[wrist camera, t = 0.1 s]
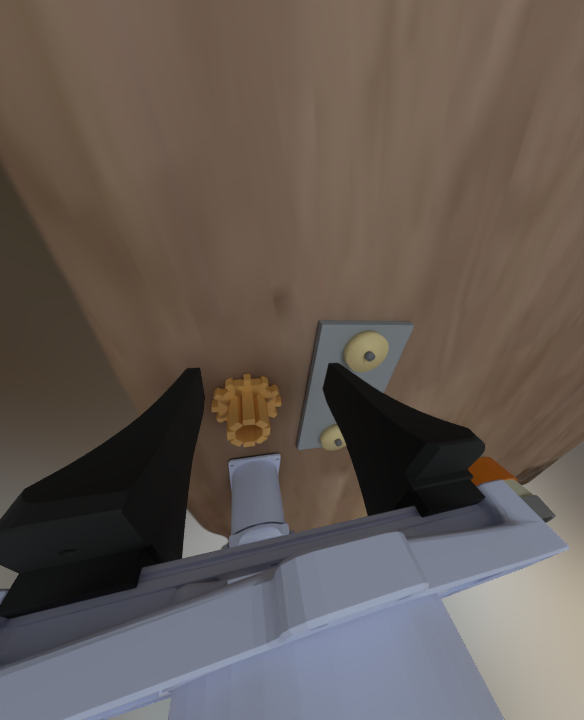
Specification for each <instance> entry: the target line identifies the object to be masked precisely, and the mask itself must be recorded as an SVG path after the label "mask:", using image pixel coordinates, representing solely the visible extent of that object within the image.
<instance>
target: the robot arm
mask: <svg viewBox="0 0 584 720" xmlns="http://www.w3.org/2000/svg"><path fill="white" fill-rule="evenodd" d="M322 389H323V393H324V396H325V399H326V402H327V405H328V407H329V409H330V411H331V413H332V415H333V417H334V419H335V421H336V423H337V425H338V427H339V430H340V432H341V434H342V436H343V438H344V440H345V443H346V446H347V449H348V451H349V454H350V457H351V460H352V463H353V466H354V469H355V472H356V475H357V478H358V482H359V485H360V488H361V492H362V495H363V499H364V503H365V507H366V511H367V514H368V516H367V517H363V518H358V519H354V520H350V521H345V522H341V523H336V524H332V525H328V526H323V527H319V528H314V529H310V530H306V531H301V532H297V533H295V532H294V531H293V530H291V531H289V526H288V523H286V524H285V518H284V512H283V505H282V499H281V492H280V486H279V479H278V474H279V466H280V458H281V456H280V454H271V455H263V456H256V457H249V458H241V459H234V460H230V461H229V462H228V466H229V474H230V483H231V492H232V518H231V536H229V545H225V546H224V547H223V549H222V550H218V551H213V552H209V553H205V554H200V555H196V556H191V557H187V558H183V559H182V551H183V540H184V528H185V519H186V509H187V499H188V491H189V482H190V475H191V467H192V460H193V455H194V450H195V446H196V442H197V438H198V434H199V429H200V425H201V421H202V417H203V410H204V400H205V395H204V389H203V383H202V377H201V371H200V368H187V369H186V370H185V371H184V372H183V373H182V375H181V376H180V377H179V378H178V379H177V380H176V381H175V382H174V384H173V385H172V386H171V387H170V388H169V389H168V390H167V391H166V392H165V393H164V394H163V395H162V396H161V397H160V398H159V399H158V400H157V401H156V402H155V403H154V404H153V405H152V406H151V407H150V408H149V409H148V410H146V411H145V412H144V413H143V414H142V415H141V416H140V417H138V418H137V419H136V420H135V421H133V422H132V423H131V424H130V425H128V426H127V427H126V428H124V429H123V430H121V431H120V432H119V433H117V434H116V435H114V436H113V437H112V438H110V439H109V440H107V441H106V442H104V443H103V444H102V445H100V446H98V447H97V448H95V449H94V450H92V451H91V452H89V453H87V454H86V455H84V456H82V457H81V458H79V459H77V460H76V461H74V462H72V463H71V464H69V465H67V466H66V467H64V468H62V469H60V470H58V471H57V472H55V473H53V474H51V475H49V476H47V477H46V478H44V479H42V480H40V481H38V482H37V483H35V484H33V485H31V486H29V487H27V488H25V489H24V490H23V492H22V493H21V494H20V495H19V496H18V497H17V499H16V500H15V501H14V503H13V504H12V505H11V506H10V508H9V509H8V510H7V512H6V513H5V514H4V515H3V517H2V518H1V519H0V565H1V566H4V567H6V568H8V569H10V570H13V571H15V572H17V573H19V575H18V576H17V578H16V580H15V581H14V583H13V584H12V586H11V588H10V589H0V720H107V719H109V718H112V717H115V716H118V715H120V714H124V713H126V712H129V711H132V710H135V709H138V708H141V707H144V706H146V705H149V704H152V703H155V702H158V701H160V700H163V699H166V698H169V697H171V702H170V710H169V717H168V720H505V719H504V718H503V716H502V714H501V712H500V710H499V708H498V706H497V704H496V703H495V701H494V699H493V697H492V695H491V693H490V691H489V689H488V687H487V686H486V684H485V682H484V680H483V678H482V676H481V674H480V672H479V671H478V668H477V667H476V665H475V663H474V661H473V659H472V657H471V655H470V653H469V651H468V650H467V648H466V646H465V644H464V642H463V640H462V638H461V636H460V634H459V633H458V631H457V629H456V627H455V625H454V623H453V621H452V619H451V618H450V616H449V614H448V612H447V610H446V608H445V606H444V604H443V602H442V600H441V599H442V598H444V597H447V596H450V595H452V594H455V593H458V592H460V591H463V590H466V589H468V588H471V587H474V586H476V585H479V584H482V583H484V582H487V581H490V580H493V579H495V578H498V577H501V576H503V575H506V574H509V573H512V572H514V571H517V570H520V569H523V568H525V567H527V566H530V565H532V564H535V563H537V562H539V561H542V560H544V559H547V558H549V557H552V556H554V555H556V554H559V553H561V552H564V551H566V550H568V549H569V546H568V545H567V544H566V543H565V542H564V541H563V540H562V539H561V538H560V537H559V536H558V535H557V534H556V533H555V532H554V531H553V530H552V529H551V528H550V527H549V526H548V525H547V524H546V523H545V522H544V521H543V520H542V519H541V518H540V517H539V516H538V515H537V514H536V513H535V512H534V511H533V510H532V509H531V508H530V507H529V506H528V505H527V504H526V503H525V502H524V501H523V500H522V499H521V498H520V497H519V496H518V495H517V494H516V493H515V492H514V491H513V490H512V489H511V488H510V487H509V486H508V485H507V484H506V483H505V482H504V481H503V480H501V479H498V480H494V481H489V482H484V483H481V484H479V485H477V486H475V484H474V483H473V482H472V481H471V480H470V479H473V475H472V474H471V473H470V472H469V470H468V468H469V467H470V466H471V465H472V464H473V463H474V462H475V461H476V460H477V459H478V458H479V457H480V456H481V455H482V454H483V452H484V450H485V444H484V443H483V441H481V440H480V439H479V438H478V437H477V436H476V435H475V434H474V433H473V432H472V431H471V430H470V429H468V428H466V427H463V426H459V425H456V424H453V423H450V422H447V421H444V420H441V419H438V418H436V417H433V416H430V415H428V414H425V413H423V412H420V411H418V410H416V409H413V408H411V407H409V406H407V405H405V404H403V403H401V402H399V401H397V400H395V399H393V398H391V397H389V396H387V395H386V394H384V393H382V392H381V391H379V390H377V389H376V388H374V387H373V386H371V385H370V384H368V383H367V382H365V381H364V380H362V379H361V378H359V377H358V376H357V375H355V374H354V373H352V372H351V371H350V370H348V369H347V368H345V367H344V366H343V365H341V364H339V363H328V367H327V372H326V376H325V380H324V384H323V388H322Z"/></svg>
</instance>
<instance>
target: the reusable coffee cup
mask: <svg viewBox="0 0 584 720" xmlns="http://www.w3.org/2000/svg"><path fill="white" fill-rule="evenodd" d="M468 470H469V472H470V473H471V474H472V475H473V479H470V480H471V481H472V482H473V483H474V484H475V486H477V485H479V484H481V483H484V482H489V481H494V480H498V479H501V480H503V481H504V482H505V483H506V484H507V485H508V486H509V487H510V488H511V489H512V490H513V491H514V492H515V493H516V494H517V495H518V496H519V497H520V498H521V499H522V500H523V501H524V502H525V503H526V504H527V505H528V506H529V507H530V508H531V509H532V510H533V511H534V512H535V513H536V514H537V515H538V516H539V517H540V518H541V519H542V520H543V521H544V522H545V523H547V522H548V521H550V520H552V519H553V518H554V517H555V516H556V515H555V514H554V513H553V512H552V511H551V510H550V509H549V508H548V507H547V506H546V505H545V504H544V502H543V501H542V500H541V499H540V498H539V497H538V496H536V495H533V494H532V493H530V492H529V491H528V490H527V489H525V488H524V487H523V486H522V485H520V484H519V483H518V482H517V478H515V477H514V476H513V475H512V474H510V473H509V472H508V471H507V470H505V469H504V468H503V467H502V466H500V465H499V464H498V463H497V462H495V461H494V460H493V459H492V458H490V457H486V456H485V455H483V454H482V455H481V456H480V457H479V458H478V459H477V460H476V461H475V462H474V463H473V464H472V465H471V466H470V467H469V468H468Z"/></svg>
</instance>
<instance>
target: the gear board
mask: <svg viewBox="0 0 584 720" xmlns="http://www.w3.org/2000/svg"><path fill="white" fill-rule="evenodd" d="M413 327H414V325H413V324H412V323H410V322H399V321H319V325H318V331H317V336H316V342H315V347H314V352H313V358H312V363H311V368H310V374H309V379H308V385H307V390H306V395H305V401H304V406H303V411H302V417H301V422H300V428H299V433H298V438H297V444H296V445H297V449H298V450H303V449H311V448H318V447H323V448H324V449H326V450H338V449H341V448H343V447H345V446H346V443H345V440H344V438H343V436H342V434H341V432H340V430H339V427H338V425H337V423H336V421H335V419H334V417H333V415H332V413H331V411H330V409H329V407H328V405H327V402H326V399H325V396H324V393H323V389H322V388H323V384H324V380H325V376H326V372H327V367H328V363H339V364H341V365H343V366H344V367H345V368H347V369H348V370H350V371H351V372H352V373H354V374H355V375H357V376H358V377H359V378H361V379H362V380H364V381H365V382H367V383H368V384H370V385H371V386H373V387H374V388H376V389H377V390H379V391H381V392H382V393H384V391H385V389H386V386H387V384H388V382H389V380H390V378H391V375H392V373H393V371H394V369H395V367H396V365H397V362H398V360H399V358H400V356H401V354H402V351H403V349H404V347H405V345H406V343H407V341H408V338H409V336H410V334H411V332H412V330H413Z"/></svg>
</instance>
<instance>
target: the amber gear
mask: <svg viewBox="0 0 584 720" xmlns="http://www.w3.org/2000/svg"><path fill="white" fill-rule="evenodd" d="M243 378H244V379H239V380H233V378H232V377H231V378H229V379H227V380H225V388H224V389H221V388H218V387H217V388H216V390H215V391H214V398H213V399H215V400H212V406H211V409H212V412H217V418H216V420H217V421H218V422H220V423H221V422H223V421H227V439H228V440H230V443H232V444H234V445H236V446H238V447H239V446H240V445H242V444H243V443H244V447H250V446H255V442H257V443H259V444H260V443H262V442H263V441H265V440H266V439H267V438H268V437H267V435H270V422H269V416H270V417H273V418H275V416H276V415H277V409H276V407H281V398H280V395H279V391H278V387H277V386H276V384H273V385H271V386H269V384H268V379H267V378H266V377H264V376H261V377H260V379H259V378H258V379H251V377H250V374H243Z"/></svg>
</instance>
